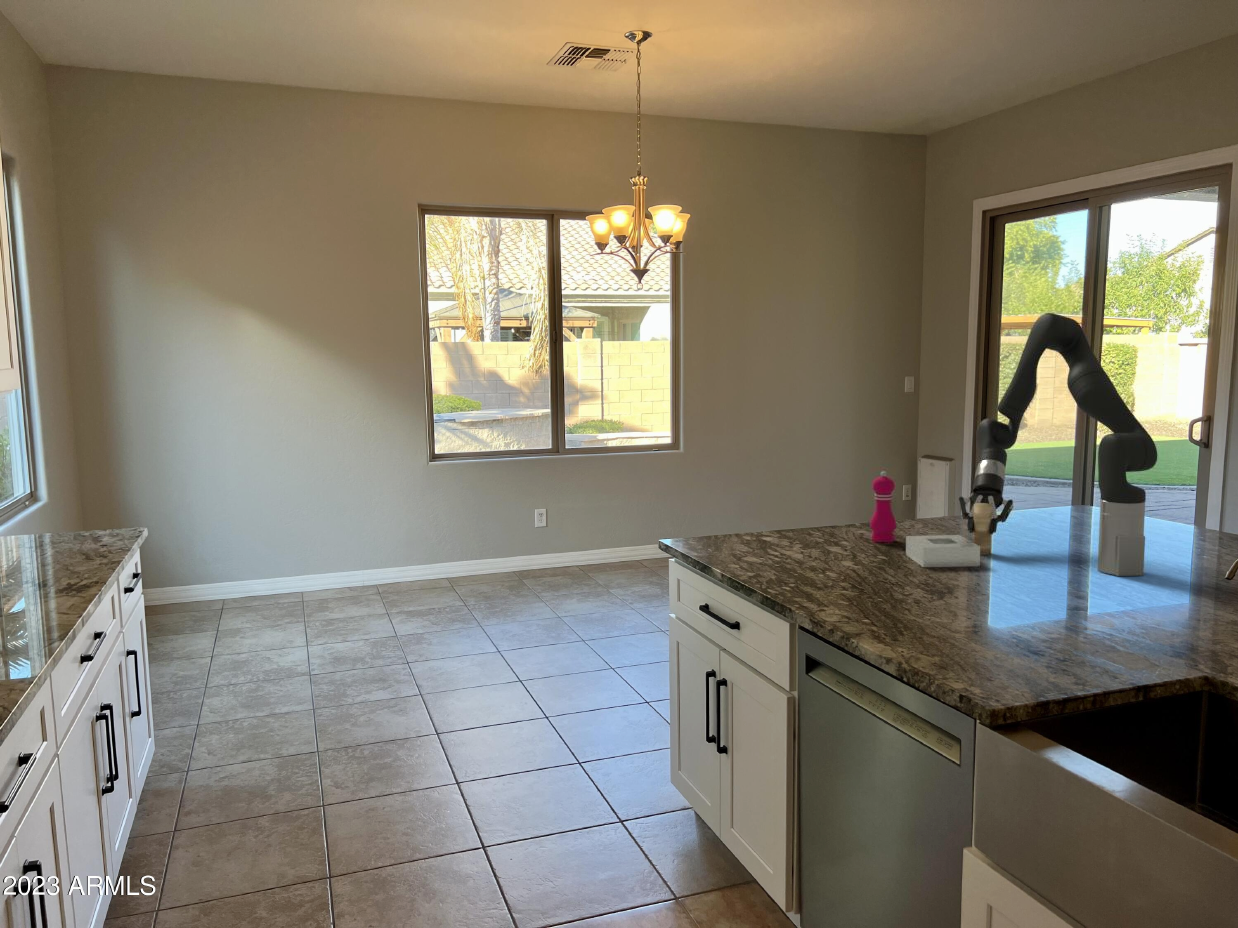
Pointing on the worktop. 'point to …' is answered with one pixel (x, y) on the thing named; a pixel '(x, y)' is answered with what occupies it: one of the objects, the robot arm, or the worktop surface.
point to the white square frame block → (942, 551)
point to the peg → (982, 527)
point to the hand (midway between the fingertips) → (981, 531)
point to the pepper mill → (883, 510)
